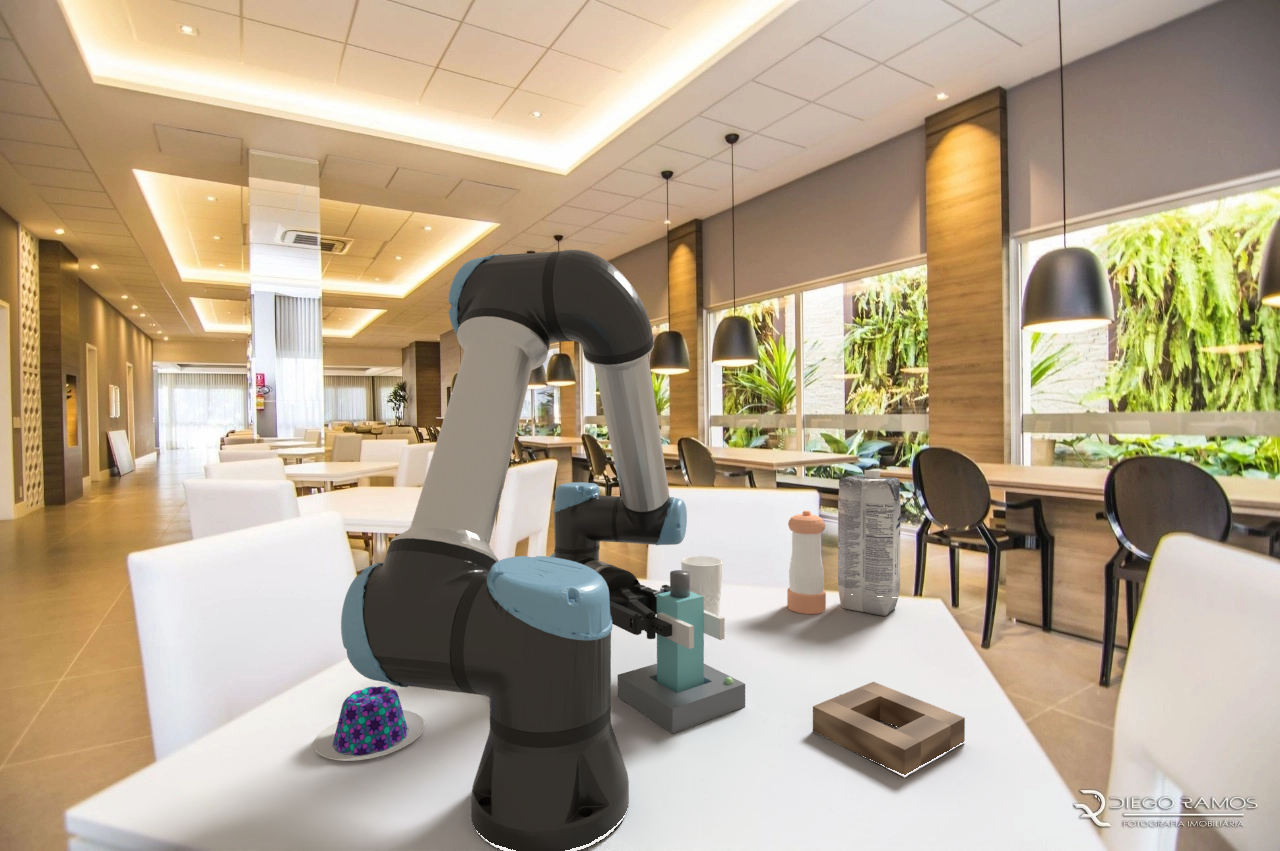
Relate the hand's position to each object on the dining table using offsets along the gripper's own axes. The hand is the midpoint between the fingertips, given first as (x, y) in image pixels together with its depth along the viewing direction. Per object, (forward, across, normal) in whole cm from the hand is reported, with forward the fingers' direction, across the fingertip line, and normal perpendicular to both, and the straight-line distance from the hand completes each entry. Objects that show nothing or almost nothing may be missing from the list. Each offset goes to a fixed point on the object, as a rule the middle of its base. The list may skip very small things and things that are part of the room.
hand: (706, 632), depth 79 cm
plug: (-5, 0, -10) cm, 11 cm away
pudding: (-19, +36, -11) cm, 42 cm away
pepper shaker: (-22, -45, -11) cm, 52 cm away
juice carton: (-15, -55, -11) cm, 58 cm away
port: (-5, 0, -11) cm, 12 cm away
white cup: (-32, -27, -11) cm, 43 cm away
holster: (+16, -14, -11) cm, 24 cm away
